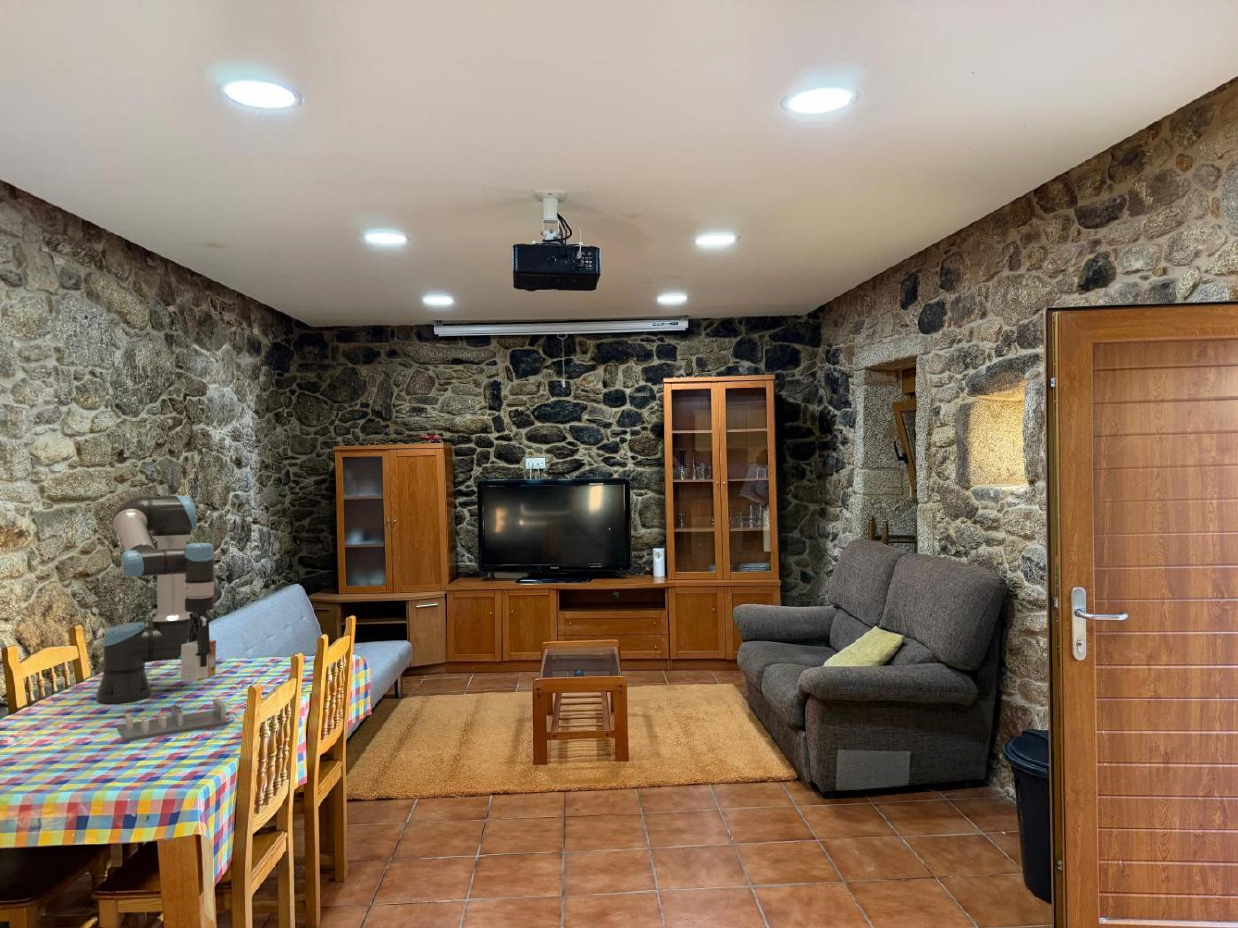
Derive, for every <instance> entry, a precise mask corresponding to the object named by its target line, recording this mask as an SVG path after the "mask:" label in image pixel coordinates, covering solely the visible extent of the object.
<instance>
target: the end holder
mask: <svg viewBox="0 0 1238 928" xmlns="http://www.w3.org/2000/svg"><path fill="white" fill-rule="evenodd" d="M212 700H213V701H212V705H213V706H212V708H213V709H212V710H213V713H214V714H215V715H216V716H217V717H218V718H219V719H220V720H221V721H222V720H226V719H227V718H226V714H227V712H226V709H227V708H226V704H225V703H224V702H222V701H221V700H220V699H219V698H214V699H212ZM170 707H171V711H170V712H171V713H170V715H171V716H170V717H171V720H172V721H173V722H174V723H175V724H176V726H177V727H183V715H184V712H183V711H182V710H181V709H180V707H178V705H177V704H174V705H171V706H170Z"/></svg>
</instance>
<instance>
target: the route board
mask: <svg viewBox="0 0 1238 928" xmlns="http://www.w3.org/2000/svg"><path fill="white" fill-rule="evenodd" d="M222 726H229V720H228V719H227V718H226V720H222V721H221V720H220V719H219V718H218V717H217V716H216V715H215V714H214V713H213V709H212V710H207V711H201V712H195V713H192V712H191V713H187V714H183V727H177V726H176V724H175V723H174V722H173V721H172V720H171V716H168V717H167V716H165V714H164V712H163V713H158V718H155V719H147V716H142V717H141V718H140V721H136V722H134V717H133V716H132V714H131V713H128V714H125V723H122V724H117V725H116V730H117V731H118V733H119V735H120V736H121V738H122V739H123V742H132V741H137V740H145V739H149V738H156V737H162V736H169V735H174V734H180V733H186V732H192V731H198V730H204V729H209V728H216V727H217V728H218V727H222Z"/></svg>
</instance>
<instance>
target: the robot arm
mask: <svg viewBox="0 0 1238 928" xmlns="http://www.w3.org/2000/svg"><path fill="white" fill-rule="evenodd" d="M192 499H193V498H191V497H190V496H187V495H151V496H147V495H141V496H136V497H133V498H130V499H128V500H126V501H124V502H122V503H121V504H120V505H119V506H118V507H117V508H116V509H115V510H114V513H113V514H112V517H111V526H112V527H113V530H114V532H115V533H116V534H118V535H119V537H120V540H121V543H122V546H123V549H124V552H123V553H122V554H121V558H120V567H121V575H122V576H123V577H126V578H127V577H131V578H133V577H135V578H140V577H151V576H152V577H153V576H157V580H156V581H157V586H156V589H157V592H156V594H157V599H156V600H157V614H156V615H155V617H153V618H152V621H151V622H152V623H151V625H147V624H146V623H145V622H144V621H136V622H133V621H132V622H127V623H123V624H119V625H115V626H112V627H110V628H108V629H106V631H105V632H104V633H103V642H102V646H103V656H102V657H103V660H102V661H103V664H102V665H103V666H102V667H103V669H102V670H103V671H102V678H101V680H100V684H99V687H98V688H97V692H96V702H98V703H100V704H101V703H102V704H121V703H122V704H123V703H130V702H136V701H141V700H144V699H146V698H149V697H150V696H151V695H152V691H151V690H152V688H151V684H150V682H149V679H148V676H147V673H146V669H145V668H146V666H145V665H146V663H154V662H160V661H161V662H162V661H171V660H175V661H176V660H179V659H180V660H181V645H182V644H186V643H190V642H193V641H196V640H197V644H198V653H196V656H197V679H199V678H206V679H208V678H207V677H208V654H209V653H210V640H211V639H210V618H209V617H208V616H207V614H206V613H207V612H208V611H212V610H213V609H214V605H215V604H214V599H215V598H214V594H215V579H214V572H215V569H214V568H215V563H214V562H215V550H214V547H215V546H214V545H213V544H212V543H211V542H194V543H193V542H192V543H188V544H187V541H188V539H189V538H190V537H191V536H192V531H195V530H197V527H198V519H197V518H198V517H197V511H196V506H195V504H194V501H193V500H192ZM149 532H151V536H150V533H149ZM151 537H152V538H153V539H154V540H155V541H156V543H157V548H155V546H154V544H153V541H152V538H151ZM188 612H189V613H188ZM203 649H205V650H203Z"/></svg>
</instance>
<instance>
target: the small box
mask: <svg viewBox="0 0 1238 928" xmlns="http://www.w3.org/2000/svg"><path fill="white" fill-rule="evenodd" d="M216 646H217V641H216V640H215V639H210V653H209V654H208V677H207V678H199V679H197V656H196V653H198V644H197V640H196V641H193V642H190V643H186V644H182V645H181V658H180V682H181V681H182V682H194V683H195V682H196V683H198V682H199V681H203V680H206V679H209V678H212V677H215V676H216V656H217V655H216V652H217V651H216V650H217V647H216ZM203 650H205V649H203Z"/></svg>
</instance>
